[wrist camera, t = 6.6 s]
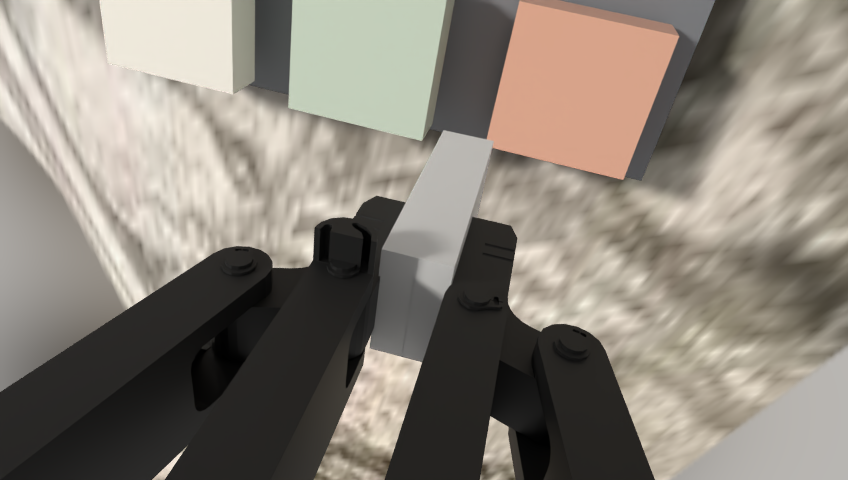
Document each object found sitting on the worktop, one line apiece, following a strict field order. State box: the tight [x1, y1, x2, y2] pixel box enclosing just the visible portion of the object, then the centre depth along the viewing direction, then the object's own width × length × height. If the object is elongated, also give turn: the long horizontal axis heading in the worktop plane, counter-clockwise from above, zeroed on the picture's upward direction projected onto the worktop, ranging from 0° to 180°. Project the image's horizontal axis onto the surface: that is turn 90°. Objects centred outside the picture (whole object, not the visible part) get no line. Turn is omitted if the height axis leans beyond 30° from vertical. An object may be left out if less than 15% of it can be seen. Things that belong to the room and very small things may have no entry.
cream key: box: [100, 0, 255, 94], centre depth 30 cm, size 7×7×2 cm
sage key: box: [288, 0, 455, 141], centre depth 29 cm, size 7×7×2 cm
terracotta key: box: [487, 0, 679, 180], centre depth 29 cm, size 7×7×2 cm
